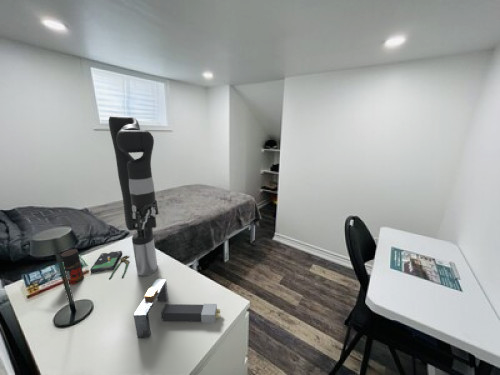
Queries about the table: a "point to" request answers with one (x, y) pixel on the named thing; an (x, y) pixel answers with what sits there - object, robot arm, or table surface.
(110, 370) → the table surface
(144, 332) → the u-shaped bracket
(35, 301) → the table surface
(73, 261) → the deodorant
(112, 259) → the disk drive
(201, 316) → the grey two-tone block
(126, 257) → the pliers
